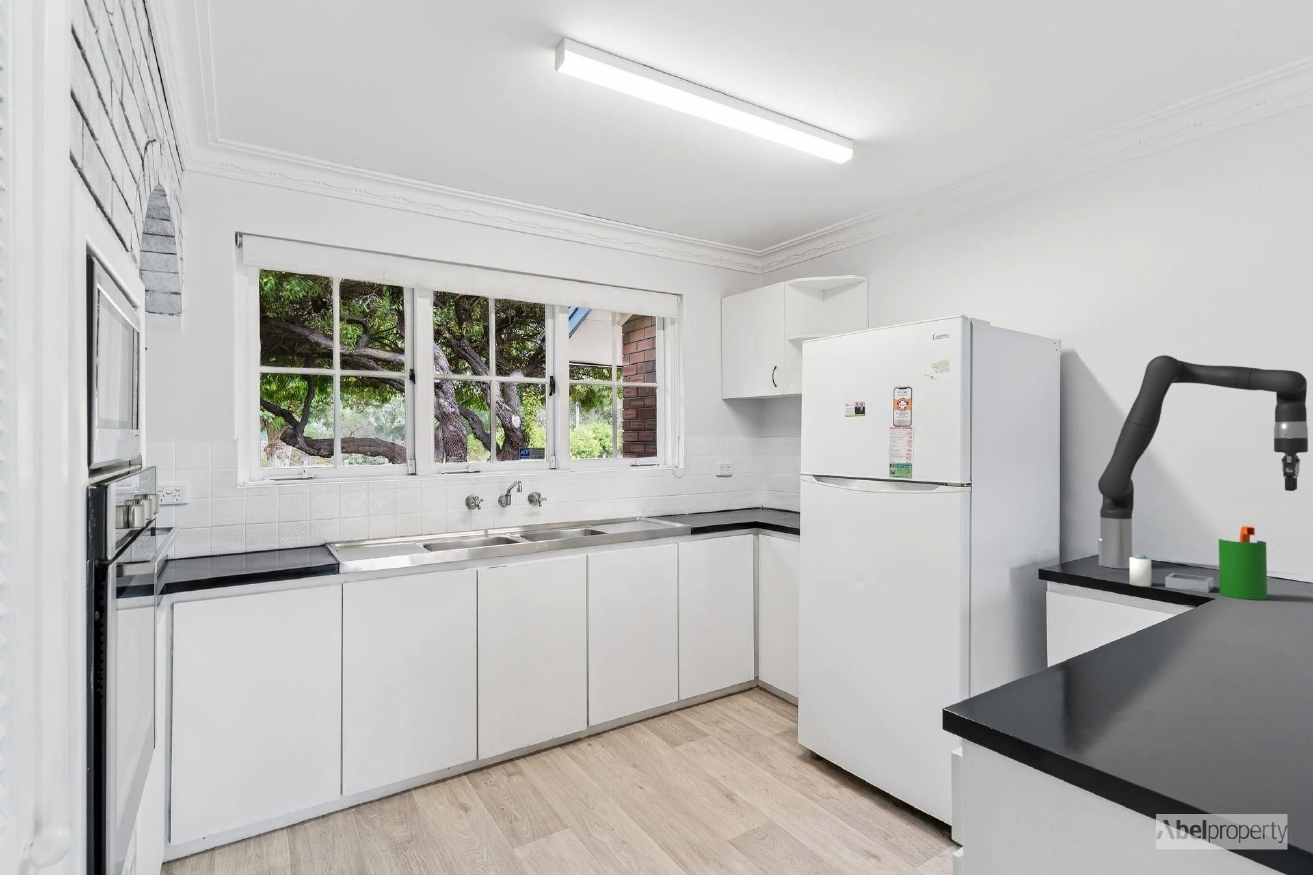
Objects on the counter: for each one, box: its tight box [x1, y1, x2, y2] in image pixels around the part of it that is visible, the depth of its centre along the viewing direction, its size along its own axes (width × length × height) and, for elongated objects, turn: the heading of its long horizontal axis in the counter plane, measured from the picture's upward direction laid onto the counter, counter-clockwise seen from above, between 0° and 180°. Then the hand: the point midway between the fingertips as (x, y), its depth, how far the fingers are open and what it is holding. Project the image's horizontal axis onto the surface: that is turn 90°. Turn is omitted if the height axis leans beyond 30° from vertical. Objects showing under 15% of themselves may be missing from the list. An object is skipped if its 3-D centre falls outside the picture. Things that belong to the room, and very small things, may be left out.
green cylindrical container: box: [1218, 525, 1268, 601], centre depth 189 cm, size 10×9×20 cm
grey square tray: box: [1164, 572, 1215, 593], centre depth 201 cm, size 10×10×3 cm
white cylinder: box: [1129, 554, 1152, 587], centre depth 205 cm, size 5×5×9 cm
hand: (1291, 490), depth 203 cm, fingers open, 8 cm apart
